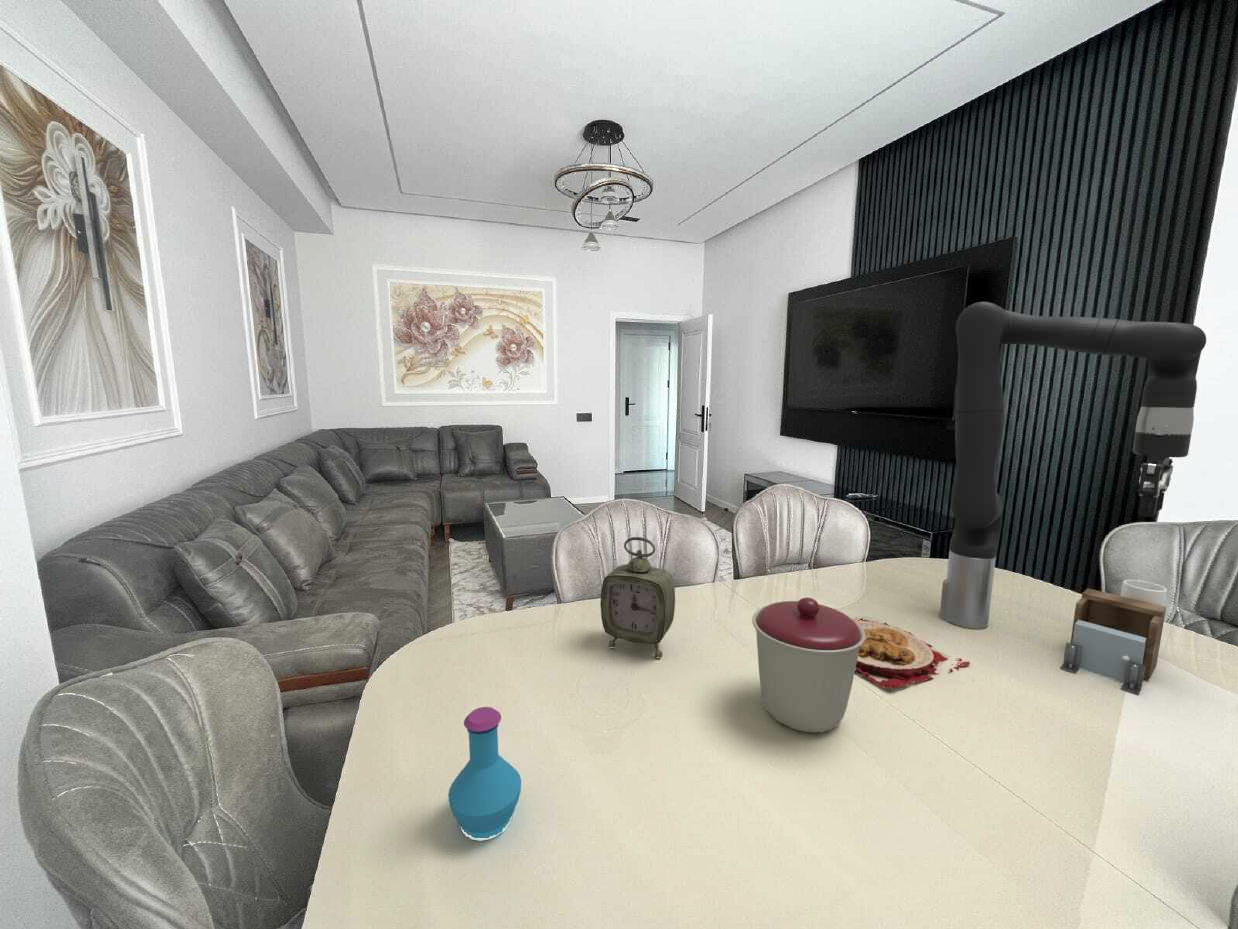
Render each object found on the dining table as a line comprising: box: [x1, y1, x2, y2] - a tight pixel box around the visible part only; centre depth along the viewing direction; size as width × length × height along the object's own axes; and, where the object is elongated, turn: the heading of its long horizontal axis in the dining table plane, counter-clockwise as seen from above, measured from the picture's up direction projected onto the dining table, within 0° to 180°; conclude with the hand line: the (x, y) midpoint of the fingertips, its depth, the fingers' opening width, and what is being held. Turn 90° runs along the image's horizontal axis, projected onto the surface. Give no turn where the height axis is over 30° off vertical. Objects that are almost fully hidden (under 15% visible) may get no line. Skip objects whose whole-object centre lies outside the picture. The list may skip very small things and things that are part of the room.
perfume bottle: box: [448, 706, 522, 838], centre depth 67 cm, size 9×9×15 cm
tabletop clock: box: [599, 536, 676, 658], centre depth 111 cm, size 14×9×25 cm, turn 68°
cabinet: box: [1070, 588, 1167, 682], centre depth 107 cm, size 12×9×13 cm
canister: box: [751, 597, 866, 733], centre depth 89 cm, size 18×18×21 cm
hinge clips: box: [1059, 641, 1145, 696], centre depth 101 cm, size 11×3×5 cm, turn 37°
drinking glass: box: [1120, 579, 1168, 607], centre depth 111 cm, size 7×7×15 cm
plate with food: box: [853, 617, 971, 690], centre depth 113 cm, size 25×26×4 cm
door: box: [1072, 620, 1147, 683], centre depth 103 cm, size 10×4×9 cm, turn 38°
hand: (1149, 512), depth 102 cm, fingers open, 8 cm apart
